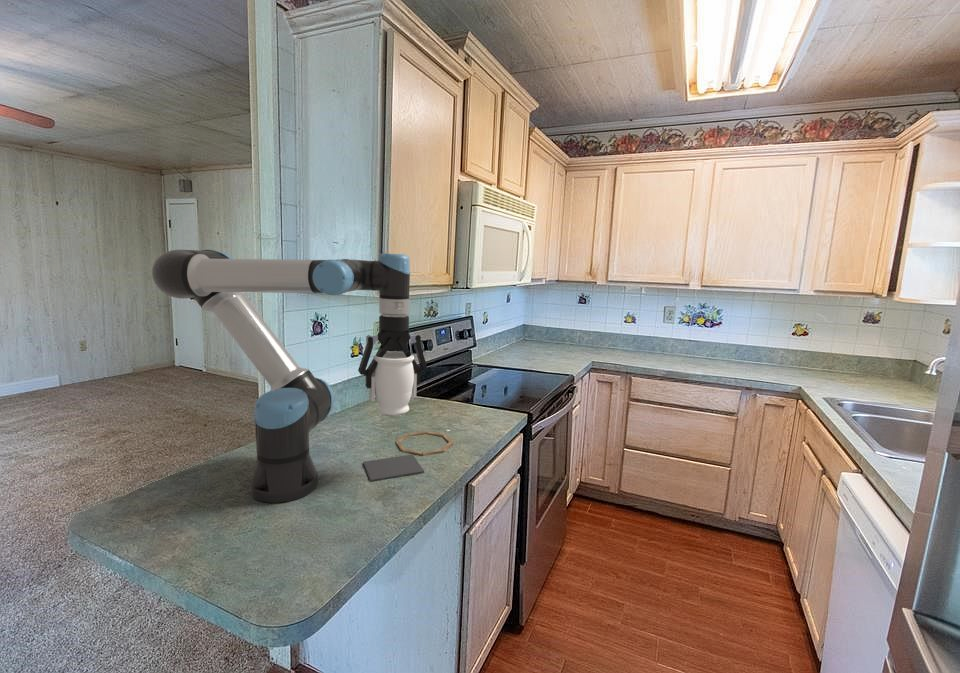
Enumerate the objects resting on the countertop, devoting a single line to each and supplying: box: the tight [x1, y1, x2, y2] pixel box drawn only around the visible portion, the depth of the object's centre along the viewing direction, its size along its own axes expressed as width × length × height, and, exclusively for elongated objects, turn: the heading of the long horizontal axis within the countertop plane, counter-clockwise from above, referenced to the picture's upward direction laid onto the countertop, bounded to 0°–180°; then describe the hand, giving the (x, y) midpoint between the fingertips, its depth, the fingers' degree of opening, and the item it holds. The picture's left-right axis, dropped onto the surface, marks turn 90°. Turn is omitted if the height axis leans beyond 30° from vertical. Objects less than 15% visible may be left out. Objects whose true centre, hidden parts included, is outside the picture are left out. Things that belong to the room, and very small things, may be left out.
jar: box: [372, 350, 415, 416], centre depth 119 cm, size 11×10×15 cm
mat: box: [362, 453, 425, 482], centre depth 123 cm, size 14×11×1 cm
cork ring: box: [395, 430, 454, 456], centre depth 140 cm, size 16×16×1 cm
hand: (393, 398), depth 120 cm, fingers closed on jar, 10 cm apart
